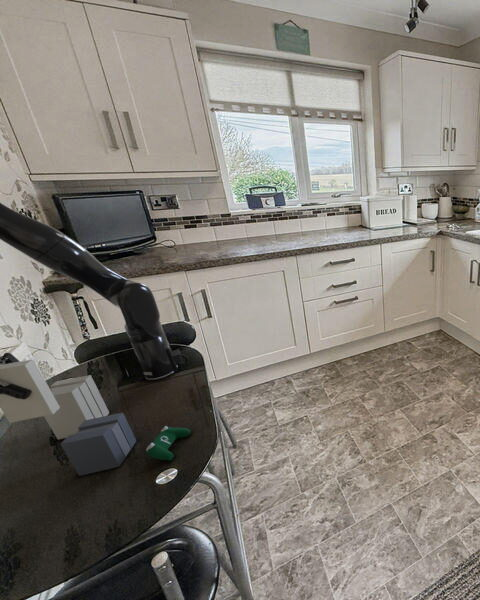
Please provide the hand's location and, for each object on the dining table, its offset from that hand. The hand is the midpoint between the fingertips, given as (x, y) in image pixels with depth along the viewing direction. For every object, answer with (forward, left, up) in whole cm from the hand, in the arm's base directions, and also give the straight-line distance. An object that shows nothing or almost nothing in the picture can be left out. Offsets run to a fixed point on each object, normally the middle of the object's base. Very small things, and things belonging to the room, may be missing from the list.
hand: (34, 391), depth 72 cm
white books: (0, -14, -20) cm, 24 cm away
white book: (+2, -1, -6) cm, 6 cm away
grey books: (-7, +6, -20) cm, 22 cm away
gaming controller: (-20, +13, -20) cm, 31 cm away
